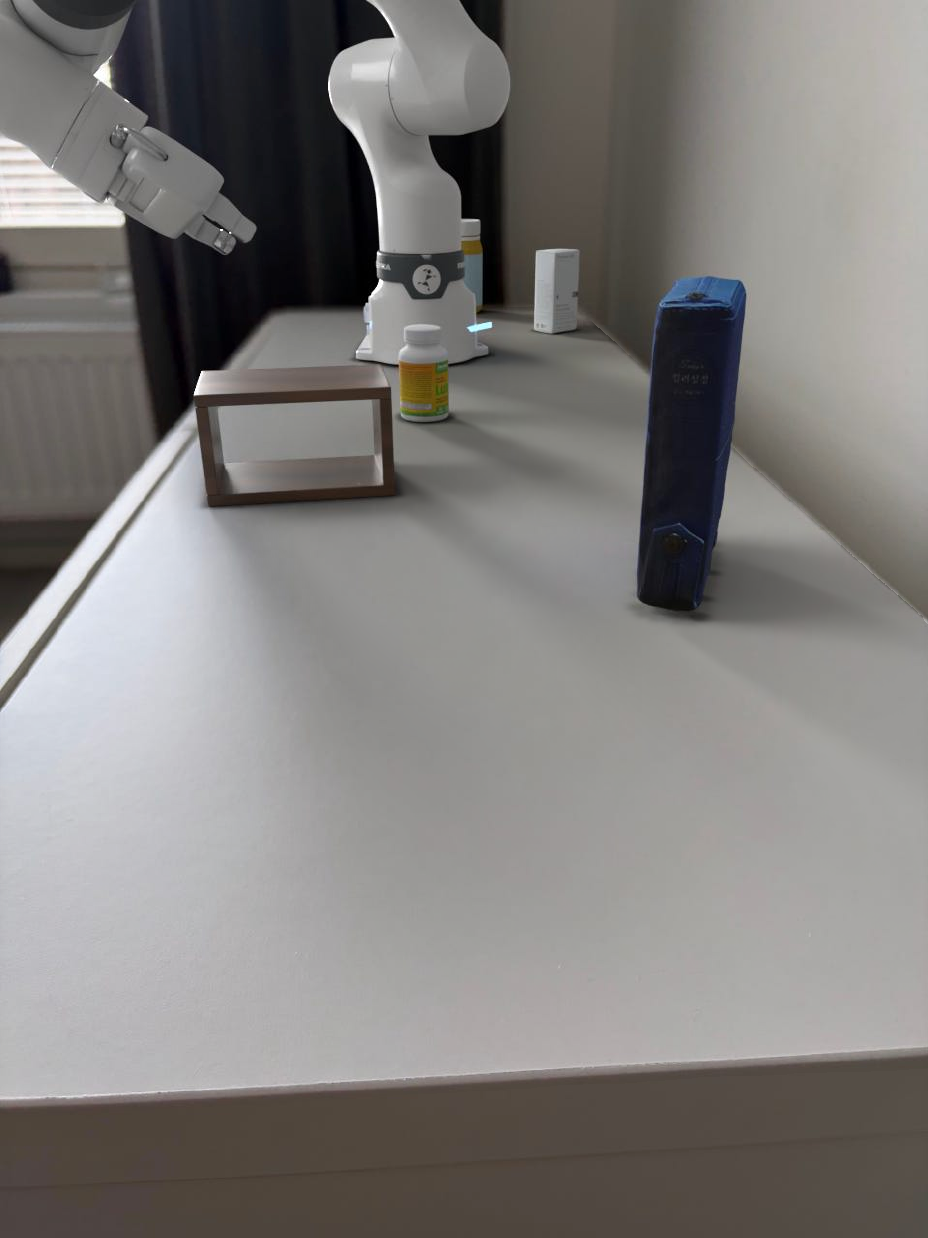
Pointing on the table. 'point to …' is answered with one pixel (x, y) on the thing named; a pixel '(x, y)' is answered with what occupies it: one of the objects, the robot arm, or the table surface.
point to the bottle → (472, 258)
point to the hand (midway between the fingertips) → (241, 242)
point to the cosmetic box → (556, 290)
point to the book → (688, 437)
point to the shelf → (297, 474)
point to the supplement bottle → (423, 375)
